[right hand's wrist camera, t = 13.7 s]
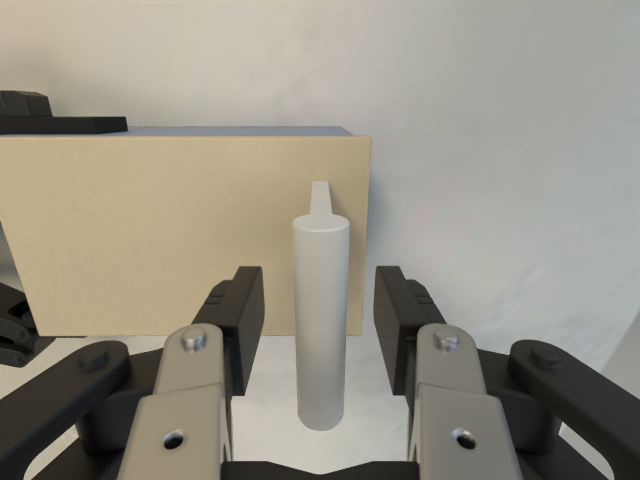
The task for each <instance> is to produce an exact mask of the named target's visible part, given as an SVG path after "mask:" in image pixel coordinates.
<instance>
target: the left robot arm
mask: <svg viewBox="0 0 640 480" xmlns="http://www.w3.org/2000/svg"><path fill="white" fill-rule="evenodd" d="M125 131H128V127H127V122H126V117H53V116H52V112H51V108H50V104H49V100H48V97H47V96H45V95H42V94H40V93H37V92H25V91H0V135H8V134H106V133H115V132H125ZM67 337H68V338H73V337H75V338H84V337H87V336H40V335H39V333H38V330H37V327H36V324H35V321H34V318H33V315H32V312H31V310H30V307H29V304H28V301H27V298H26V295H25V293H24V292H21V291H19V290H17V289H14V288H12V287H10V286H7V285H5V284H2V283H0V364H3V365H8V366H13V367H19V368H21V367H24V366H26V365H27V364H28V363H29V362H30V361H31V360H33V359H34V358H35V357H36V356H37V355H39V354H40V353H41V352H42V351H43V350H44V349H45V348H47V347H48V346H49V345H50V344H51V343H52V342H53V341H54V340H55V339H56V338H67Z"/></svg>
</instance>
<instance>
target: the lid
mask: <svg viewBox="0 0 640 480" xmlns="http://www.w3.org/2000/svg"><path fill="white" fill-rule="evenodd" d="M370 157H371V138H370V137H368V136H0V222H1V225H2V228H3V231H4V234H5V236H6V239H7V242H8V245H9V248H10V251H11V254H12V257H13V260H14V263H15V266H16V269H17V272H18V274H19V277H20V280H21V283H22V286H23V289H24V292H25V295H26V298H27V301H28V304H29V307H30V310H31V312H32V315H33V318H34V321H35V324H36V327H37V330H38V333H39V335H40V336H170V335H171V334H172V333H173V332H175V331H177V330H178V329H180V328H182V327H185V326H188V325H190V324H191V323H192V321H193V320H194V318H195V316H196V315H197V313H198V311H199V310H200V308H201V306H202V305H204V301H205V300H206V298H207V297H208V295H209V293H210V292H211V290H212V288H213V287H214V286H216V285H217V284H218V283H220V282H221V281H223V280H232V279H233V277H234V275H235V273H236V272H237V270H238V268H239V266H261V267H262V272H263V286H264V301H265V317H264V324H263V328H262V332H261V336H296V368H297V401H298V416H299V418H300V420H301V422H302V423H303V424H304V425H305V426H306V427H308V428H310V429H312V430H317V431H325V430H329V429H332V428H333V427H335V426H336V425H338V423H339V422H340V421H341V419H342V417H343V413H344V384H345V352H346V336H361V334H362V316H363V296H364V276H365V256H366V237H367V217H368V197H369V177H370Z"/></svg>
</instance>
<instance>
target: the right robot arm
mask: <svg viewBox="0 0 640 480" xmlns="http://www.w3.org/2000/svg"><path fill="white" fill-rule="evenodd" d="M373 312H374V323H375V327H376V331H377V335H378V338H379V342H380V346H381V350H382V354H383V358H384V362H385V366H386V369H387V373H388V377H389V381H390V385H391V389H392V393H393V395H405V397H406V401H407V404H408V407H409V410H408V425H407V453H406V461H372V462H368V463H365V464H361V465H357V466H353V467H350V468H346V469H342V470H338V471H335V472H331V473H327V474H322V475H318V474H313V473H309V472H305V471H302V470H298V469H294V468H290V467H287V466H283V465H279V464H275V463H272V462H268V461H234V453H233V425H232V410H231V399H232V396H245V392H246V388H247V384H248V381H249V377H250V373H251V369H252V366H253V362H254V358H255V354H256V351H257V347H258V343H259V339H260V336H261V332H262V328H263V324H264V317H265V301H264V286H263V272H262V267H261V266H239V268H238V270H237V272H236V273H235V275H234V277H233V279H232V280H223V281H221V282H220V283H218V284H217V285H216V286H214V287H213V288H212V290H211V292H210V293H209V295H208V297H207V298H206V300H205V301H204V305H202V306H201V308H200V310H199V311H198V313H197V315H196V316H195V318H194V320H193V321H192V323H191V324H190V325H188V326H185V327H182V328H180V329H178V330H177V331H175V332H173V333H172V334H171V335H170V336H169V337H168V338H167V340H166V342H165V345H164V347H163V348H161V349H158V350H154V351H149V352H144V353H139V354H134V355H129V352H128V348H127V346H126V345H125V344H124V343H122V342H120V341H111V340H110V341H101V342H97V343H93V344H90V345H87V346H85V347H82V348H80V349H78V350H76V351H75V352H73V353H71V354H70V355H68V356H67V357H65V358H64V359H62V360H61V361H59V362H58V363H56V364H54V365H53V366H51V367H50V368H48V369H47V370H45V371H44V372H42V373H41V374H39V375H38V376H36V377H34V378H33V379H31V380H30V381H28V382H27V383H25V384H24V385H22V386H21V387H19V388H18V389H16V390H14V391H13V392H11V393H10V394H8V395H7V396H5V397H4V398H2V399H1V400H0V480H23V478H24V474H25V472H26V470H27V468H28V466H29V465H30V463H31V462H32V461H33V459H34V458H35V457H36V456H37V455H38V454H39V453H41V452H42V451H43V450H44V449H45V448H47V447H48V446H49V445H50V444H51V443H52V442H54V441H55V440H56V439H57V438H58V437H60V436H61V435H62V434H63V433H64V432H65V431H67V430H68V429H69V428H70V427H71V426H73V425H74V424H75V426H76V429H77V432H78V435H79V438H77V439H76V440H75V441H74V442H73V443H72V444H71V445H70V446H68V447H67V448H66V449H65V450H64V451H63V452H62V453H61V454H59V455H58V456H57V457H56V458H55V459H54V460H53V461H52V462H51V463H49V464H48V465H47V466H46V467H45V468H44V469H43V470H42V471H40V472H39V473H38V474H37V475H36V476H35V477H34V478H33V479H31V480H609V479H607V478H606V477H605V476H604V475H603V474H602V473H601V472H600V471H598V470H597V469H596V468H595V467H594V466H593V465H592V464H591V463H589V462H588V461H587V460H586V459H585V458H584V457H583V456H582V455H581V454H579V453H578V452H577V451H576V450H575V449H574V448H573V447H572V446H570V445H569V444H568V443H567V442H566V441H565V440H564V439H563V438H561V437H560V436H559V435H558V433H559V430H560V427H561V424H562V421H563V422H564V423H565V424H566V425H567V426H569V427H570V428H571V429H572V430H573V431H575V432H576V433H577V434H578V435H579V436H580V437H582V438H583V439H584V440H585V441H586V442H588V443H589V444H590V445H591V446H592V447H593V448H595V449H596V450H597V451H598V452H599V453H600V454H601V455H602V456H603V457H604V458H605V459H606V460H607V462H608V463H609V465H610V466H611V468H612V470H613V473H614V478H615V480H640V400H639V399H638V398H636V397H635V396H633V395H632V394H630V393H629V392H627V391H626V390H624V389H622V388H621V387H619V386H618V385H616V384H615V383H613V382H612V381H610V380H609V379H607V378H606V377H604V376H602V375H601V374H599V373H598V372H596V371H595V370H593V369H592V368H590V367H589V366H587V365H586V364H584V363H582V362H581V361H579V360H578V359H576V358H575V357H573V356H572V355H570V354H569V353H567V352H565V351H564V350H562V349H560V348H558V347H556V346H554V345H551V344H549V343H545V342H542V341H537V340H519V341H517V342H515V343H513V345H512V346H511V350H510V354H509V355H505V354H500V353H495V352H490V351H485V350H481V349H478V348H476V345H475V342H474V340H473V338H472V337H471V336H470V335H469V334H468V333H467V332H465V331H463V330H462V329H460V328H458V327H455V326H452V325H448V324H447V323H446V322H445V320H444V318H443V316H442V315H441V313H440V311H439V310H438V308H437V306H436V305H435V304H434V301H433V300H432V298H431V297H430V295H429V293H428V291H427V290H426V288H425V287H424V286H423V285H421V284H420V283H418V282H417V281H416V280H406V279H405V277H404V275H403V273H402V271H401V269H400V267H399V266H377V267H376V274H375V290H374V307H373Z"/></svg>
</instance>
